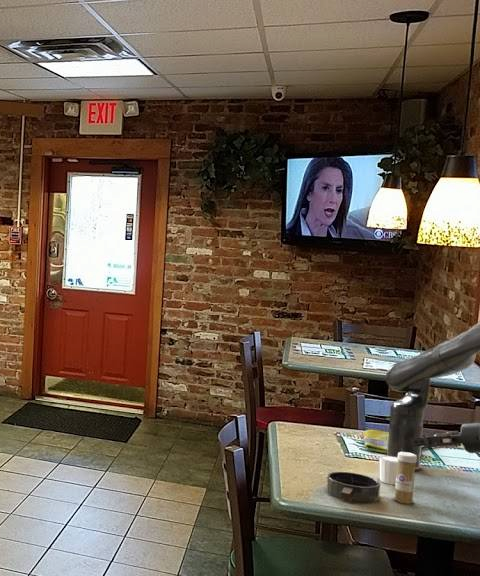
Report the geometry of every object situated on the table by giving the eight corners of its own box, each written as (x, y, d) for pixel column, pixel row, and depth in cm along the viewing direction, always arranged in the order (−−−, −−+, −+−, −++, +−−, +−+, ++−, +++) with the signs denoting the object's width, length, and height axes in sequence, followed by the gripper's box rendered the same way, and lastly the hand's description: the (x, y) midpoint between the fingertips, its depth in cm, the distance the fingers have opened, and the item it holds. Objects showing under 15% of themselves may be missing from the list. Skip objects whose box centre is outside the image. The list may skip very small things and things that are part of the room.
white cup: (394, 486, 224) (396, 463, 224) (372, 479, 230) (374, 456, 230) (408, 483, 227) (410, 460, 227) (386, 476, 234) (388, 454, 233)
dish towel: (362, 450, 261) (362, 442, 261) (364, 434, 282) (364, 427, 282) (421, 459, 253) (422, 451, 252) (418, 442, 274) (419, 434, 274)
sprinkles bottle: (392, 501, 212) (396, 453, 211) (396, 497, 215) (399, 450, 214) (411, 505, 209) (415, 457, 208) (414, 501, 212) (418, 453, 211)
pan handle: (344, 499, 212) (345, 486, 211) (352, 501, 210) (353, 488, 210) (339, 506, 207) (340, 492, 206) (348, 508, 205) (349, 493, 205)
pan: (331, 483, 225) (332, 468, 225) (382, 494, 217) (383, 478, 217) (322, 495, 214) (323, 480, 214) (374, 507, 207) (376, 490, 206)
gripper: (493, 420, 199) (426, 425, 211) (472, 423, 190) (404, 428, 203) (499, 450, 198) (432, 453, 210) (479, 454, 189) (410, 457, 201)
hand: (418, 441), depth 206 cm, fingers open, 8 cm apart
